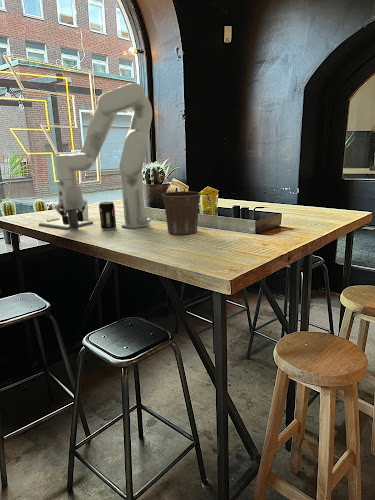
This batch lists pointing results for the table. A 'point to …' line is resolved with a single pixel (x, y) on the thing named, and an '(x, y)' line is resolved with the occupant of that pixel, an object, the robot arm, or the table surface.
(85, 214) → the white cup
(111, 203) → the beverage can
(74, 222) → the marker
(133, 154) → the robot arm
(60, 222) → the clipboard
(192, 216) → the plant pot
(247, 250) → the table surface
